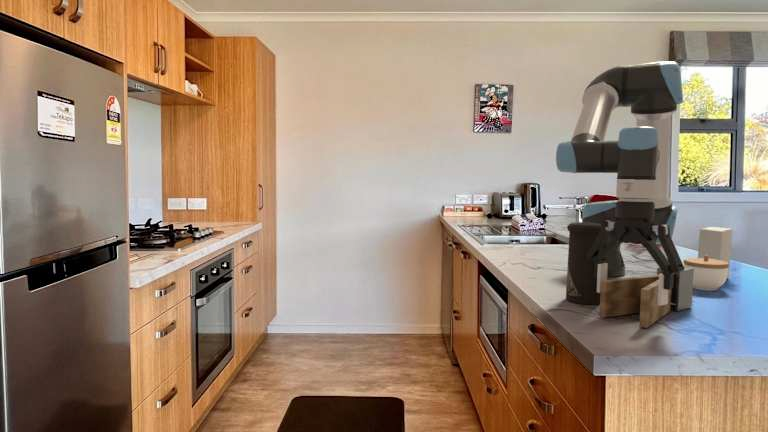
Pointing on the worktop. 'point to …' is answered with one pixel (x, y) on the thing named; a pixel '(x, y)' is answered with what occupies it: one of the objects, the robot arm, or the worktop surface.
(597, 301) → the container
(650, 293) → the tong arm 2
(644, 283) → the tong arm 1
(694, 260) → the lidded jar
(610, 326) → the worktop surface
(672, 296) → the grey angled block
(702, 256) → the skincare box
